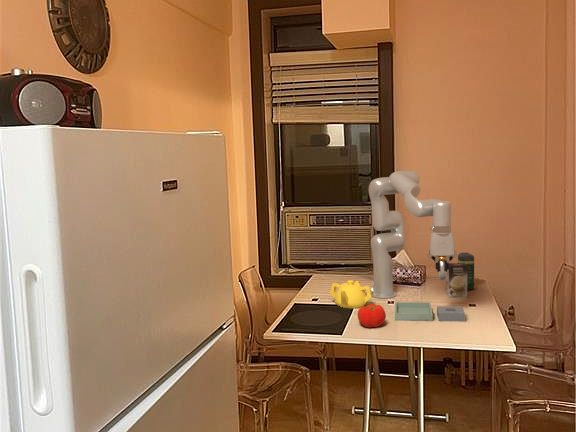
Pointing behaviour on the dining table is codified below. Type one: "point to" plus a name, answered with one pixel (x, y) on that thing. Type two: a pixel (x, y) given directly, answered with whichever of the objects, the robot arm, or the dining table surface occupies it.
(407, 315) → the tray
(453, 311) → the grey square hole block
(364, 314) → the tomato
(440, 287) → the dining table surface
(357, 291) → the teapot
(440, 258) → the orange knob peg
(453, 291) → the coffee box
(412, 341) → the dining table surface
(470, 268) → the coffee jar
